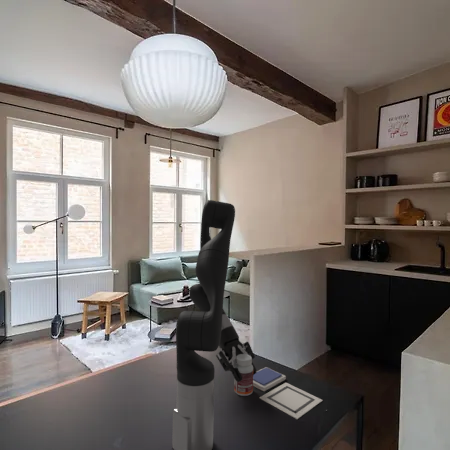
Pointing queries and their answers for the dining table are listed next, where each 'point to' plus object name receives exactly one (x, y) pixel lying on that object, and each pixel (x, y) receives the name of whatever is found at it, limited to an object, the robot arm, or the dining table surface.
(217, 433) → the dining table surface
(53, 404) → the dining table surface
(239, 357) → the pill bottle
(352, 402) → the dining table surface
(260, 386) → the ink pad
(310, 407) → the white flat square slab
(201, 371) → the robot arm
